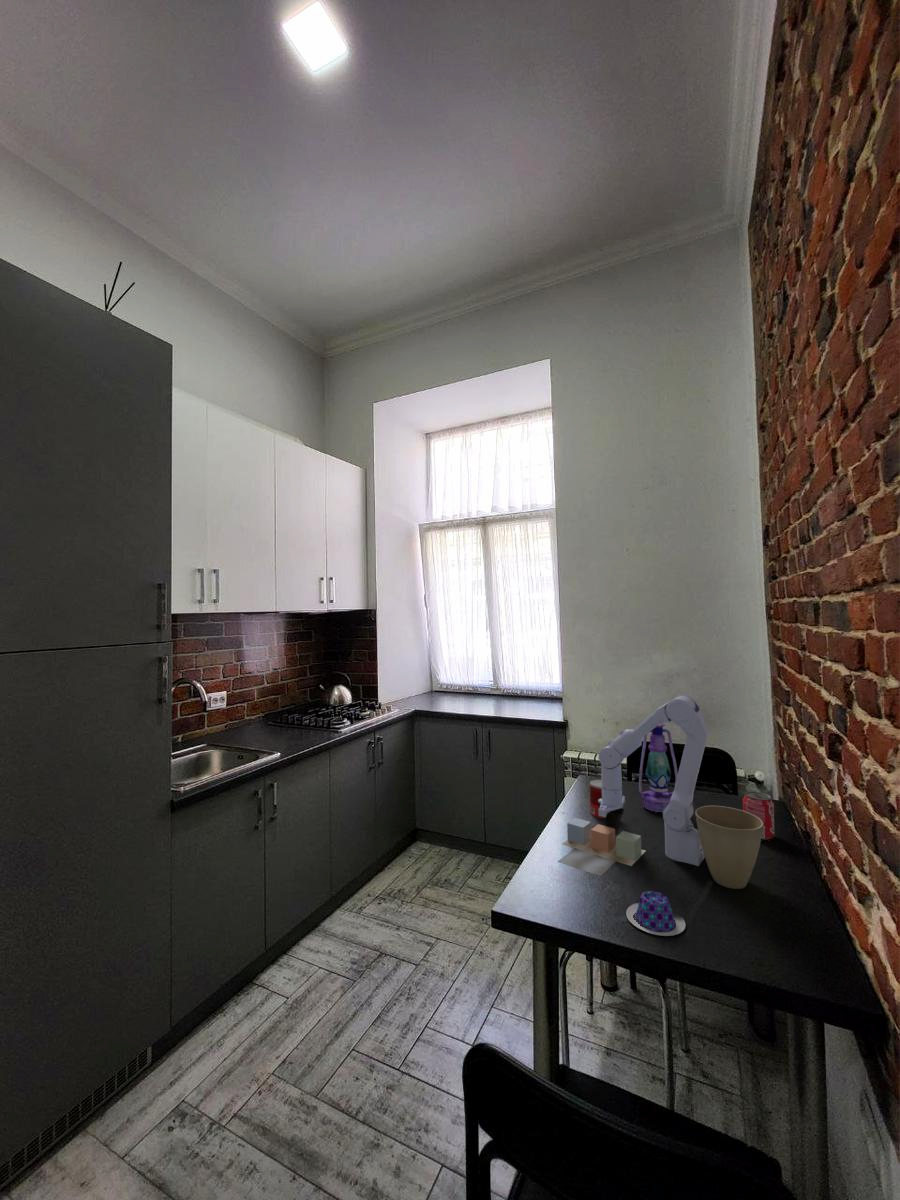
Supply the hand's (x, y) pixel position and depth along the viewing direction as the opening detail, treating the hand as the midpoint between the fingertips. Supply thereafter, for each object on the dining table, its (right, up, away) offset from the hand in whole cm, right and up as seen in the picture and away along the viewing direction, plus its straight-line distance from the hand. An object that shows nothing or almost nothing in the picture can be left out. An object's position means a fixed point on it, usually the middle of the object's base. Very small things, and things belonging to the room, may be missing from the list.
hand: (612, 834), depth 146 cm
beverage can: (+45, -2, +3) cm, 45 cm away
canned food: (+3, -3, +18) cm, 19 cm away
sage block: (+1, -1, -10) cm, 10 cm away
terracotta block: (-4, -1, -5) cm, 7 cm away
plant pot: (+22, -2, -22) cm, 31 cm away
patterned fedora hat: (-3, -2, -37) cm, 37 cm away
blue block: (-10, -2, 0) cm, 10 cm away
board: (-7, -2, -9) cm, 11 cm away
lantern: (+24, -3, +25) cm, 35 cm away
